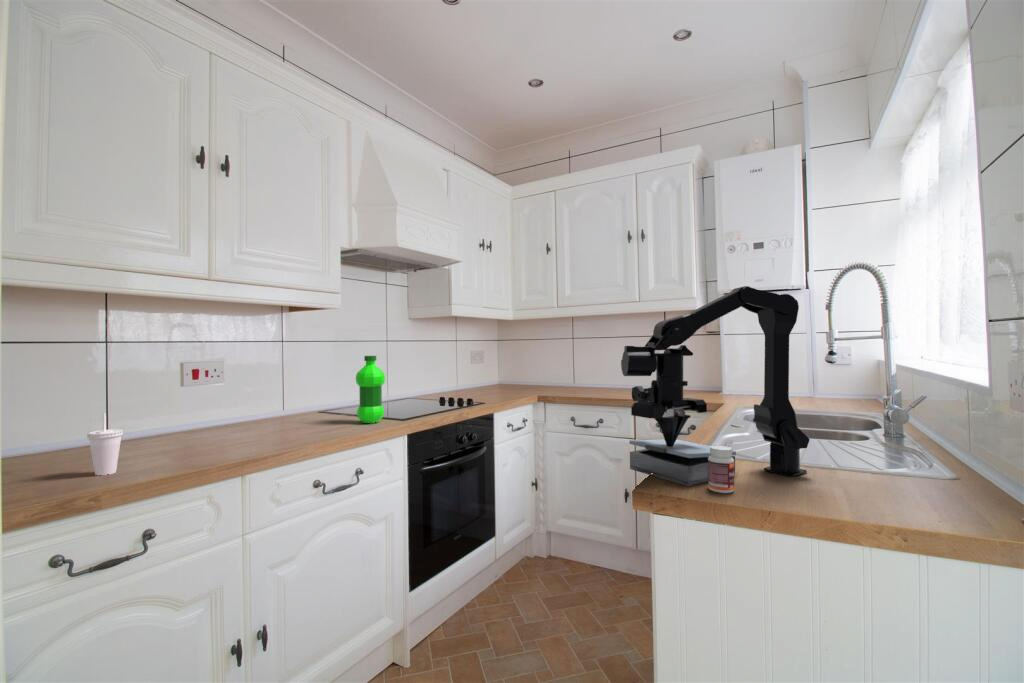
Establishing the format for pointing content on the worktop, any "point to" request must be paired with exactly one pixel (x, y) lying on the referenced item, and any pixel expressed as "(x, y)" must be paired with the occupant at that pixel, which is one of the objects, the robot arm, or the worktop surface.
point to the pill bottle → (721, 469)
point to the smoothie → (105, 449)
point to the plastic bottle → (370, 391)
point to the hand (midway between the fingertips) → (669, 446)
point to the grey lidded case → (671, 466)
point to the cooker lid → (676, 448)
